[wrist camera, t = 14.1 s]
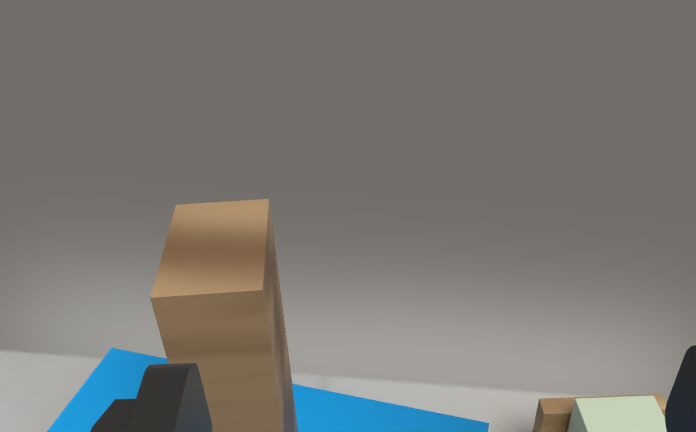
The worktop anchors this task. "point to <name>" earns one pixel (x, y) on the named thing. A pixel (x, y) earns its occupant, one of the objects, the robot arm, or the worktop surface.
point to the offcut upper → (617, 415)
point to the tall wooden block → (227, 313)
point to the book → (310, 404)
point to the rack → (567, 412)
